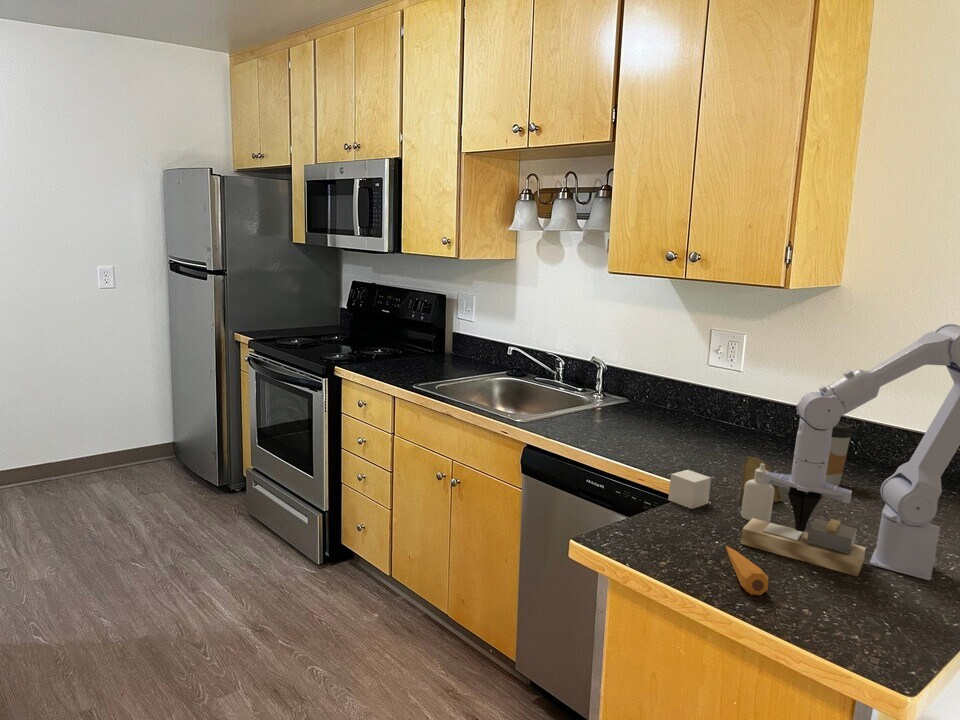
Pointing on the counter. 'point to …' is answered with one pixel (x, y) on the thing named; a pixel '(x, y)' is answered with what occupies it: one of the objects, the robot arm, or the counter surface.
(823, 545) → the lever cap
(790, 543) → the body
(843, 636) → the counter surface
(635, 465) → the counter surface
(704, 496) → the white cube
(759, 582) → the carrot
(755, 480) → the eye dropper bottle
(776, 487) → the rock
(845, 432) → the coffee cup
